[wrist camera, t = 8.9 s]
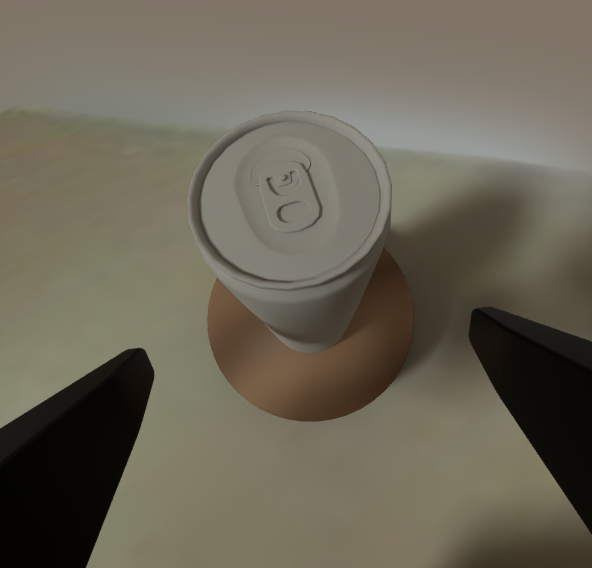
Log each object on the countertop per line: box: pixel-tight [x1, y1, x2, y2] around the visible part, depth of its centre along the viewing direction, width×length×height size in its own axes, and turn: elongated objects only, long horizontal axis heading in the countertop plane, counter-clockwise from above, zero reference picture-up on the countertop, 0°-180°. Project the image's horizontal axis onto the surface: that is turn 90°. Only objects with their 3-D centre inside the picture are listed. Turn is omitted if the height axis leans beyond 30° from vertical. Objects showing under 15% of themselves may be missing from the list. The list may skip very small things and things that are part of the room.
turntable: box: [207, 248, 414, 421], centre depth 19 cm, size 12×12×2 cm
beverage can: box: [187, 111, 392, 353], centre depth 13 cm, size 5×5×12 cm
